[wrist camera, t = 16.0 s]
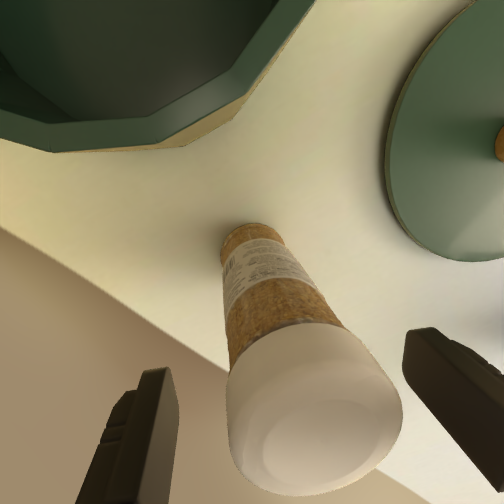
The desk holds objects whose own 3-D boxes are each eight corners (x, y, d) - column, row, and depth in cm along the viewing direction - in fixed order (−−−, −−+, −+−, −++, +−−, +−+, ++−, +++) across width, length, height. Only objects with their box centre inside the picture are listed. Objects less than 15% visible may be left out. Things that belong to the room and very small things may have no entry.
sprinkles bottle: (264, 292, 20) (342, 518, 8) (208, 266, 19) (195, 487, 7) (297, 239, 19) (447, 405, 7) (239, 208, 18) (294, 343, 6)
